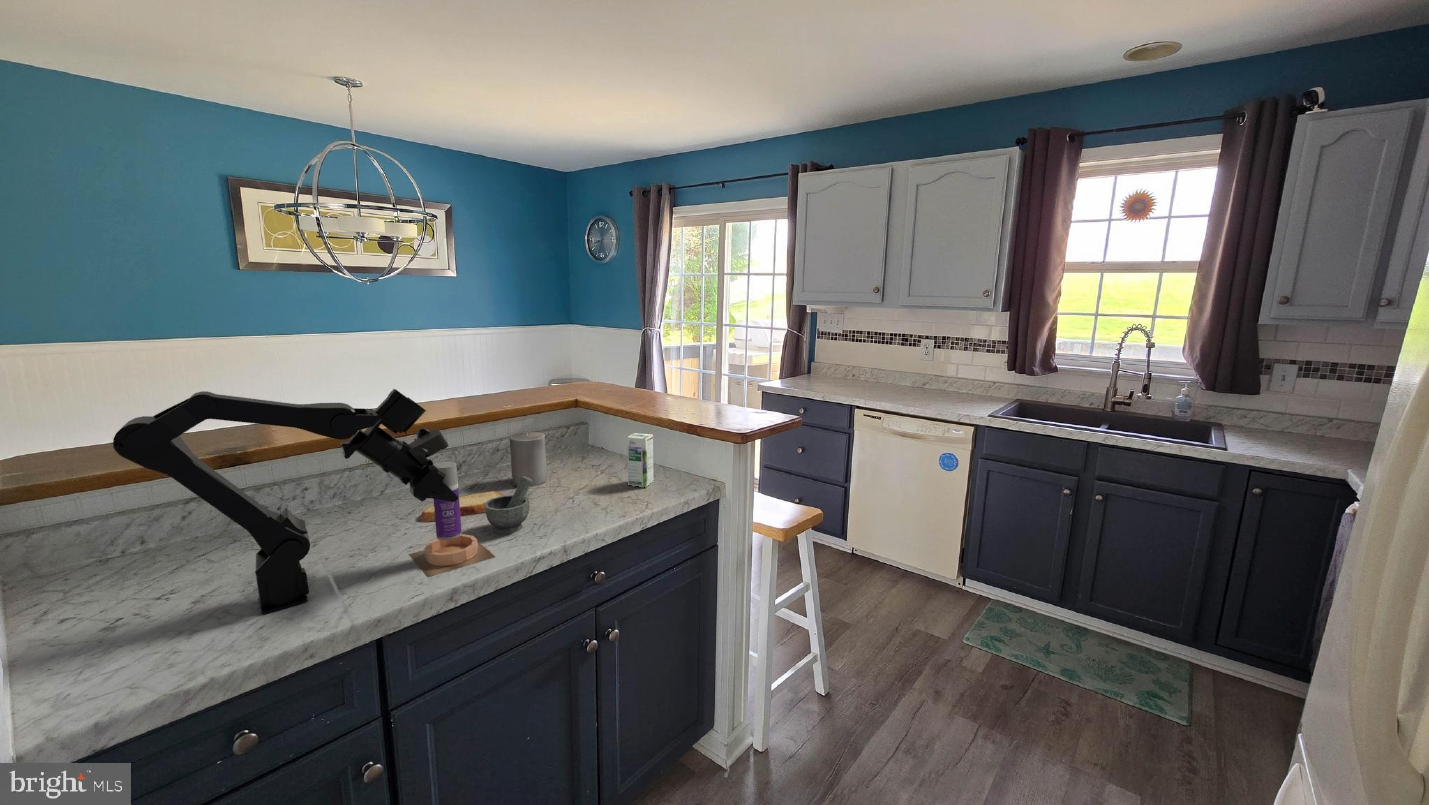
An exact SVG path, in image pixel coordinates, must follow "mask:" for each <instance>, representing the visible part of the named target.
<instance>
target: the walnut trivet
mask: <svg viewBox="0 0 1429 805" xmlns="http://www.w3.org/2000/svg"><path fill="white" fill-rule="evenodd" d="M477 542H478V549H477V554H476V556H475V557H473V558H472V559H470V560H469V561H466V562H464V563H461V564H457V565H452V566H433V565H430V564H428V563H427V561H426V558H425V552H424V549H423V550H419V551H416V552H412V553H409V554H408V555H409V556H410V557H411V559H412V560H413V561H414V562H415V564H416V565H417V566H418V567H419V568H420V570H421V571H422V572H423V574H424V575H425V576H426V577H427V578H430V577H433V576H438V575H440V574H444V573H447V572H451V571H454V570H458V569H461V568H464V567H467V566H470V565H474V564H477V563H481V562H484V561H487V560H491V559H494V558H496V556H495V555H494V554H493V553H492V552H491V551H489V549H488V548H486V547H485V546H484V545H483V544H481V542H479V540H477Z"/></svg>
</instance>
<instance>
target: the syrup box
mask: <svg viewBox="0 0 1429 805" xmlns="http://www.w3.org/2000/svg"><path fill="white" fill-rule="evenodd" d="M626 443H627V472H628V473H627V483H628V485H632V486H631V487H635V486H639V487H638V488H644V487H645V488H644V489H646V488H648V487H649V486H650V485H651V484H653V483H654V434H652V433H651V434H646V433H639V432H634V433H631V434H630V435H628V436H627V442H626ZM652 482H653V483H652ZM650 483H651V484H650ZM648 485H649V486H648ZM647 486H648V487H647Z"/></svg>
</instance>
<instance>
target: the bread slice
mask: <svg viewBox="0 0 1429 805" xmlns="http://www.w3.org/2000/svg"><path fill="white" fill-rule="evenodd" d="M504 495H505V493H501V492H498V491H496V490H491V491H486V492H476V493H473V494H469V495H463V496H459V502H460V517H466V516H467V517H468V516H474V515H480V514H486V512H485V506H484V503H485V502H487V501H489V500H490V499H492V498H496V497H500V496H504ZM419 521H420V522H423V523H430V522H431V523H432V522H435V511H434V505H432V506H429V507H428V508H425V509H424V510H423V511H422V512H421V514H420V518H419Z"/></svg>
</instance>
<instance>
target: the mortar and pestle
mask: <svg viewBox="0 0 1429 805" xmlns="http://www.w3.org/2000/svg"><path fill="white" fill-rule="evenodd" d="M532 482H533V481H532V479H530V478H528V477H525V476H522V477H521V478H520V483H519V485H518V486H516V489H515V491H514V493H513V494H508V495H507V494H504V496H500V497H496V498H492V499H490V500H489V501H487V502H485V503H484V506H485V512H486V513H485V516H486V520H487V521H488V522H489V524H490V525H491V526H492V527H494V533H496V534H499V535H506V534H507V535H509V534H514V533H518V532H519V531H521V530H522V529H523V525H522V523H524V521H525V520H526V519H527V518H528V515H529V514H530V500H529V498H528V496H527V494H528V492H529V491H528V490H529V488H530V487H531V486H530V484H532ZM529 486H530V487H529Z"/></svg>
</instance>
